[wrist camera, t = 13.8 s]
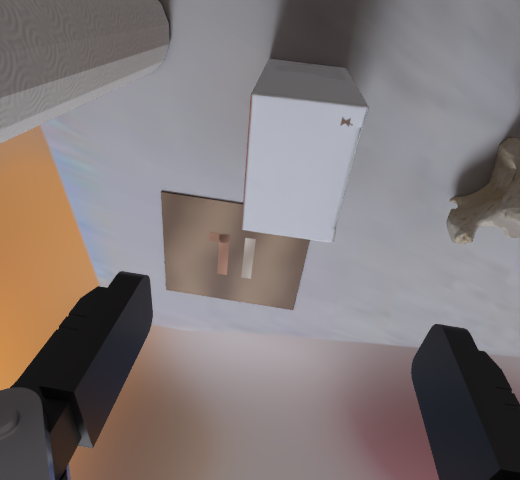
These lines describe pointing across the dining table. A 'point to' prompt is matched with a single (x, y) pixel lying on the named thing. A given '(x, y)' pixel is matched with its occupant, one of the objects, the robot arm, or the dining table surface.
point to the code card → (227, 254)
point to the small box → (300, 149)
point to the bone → (491, 199)
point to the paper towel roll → (72, 54)
